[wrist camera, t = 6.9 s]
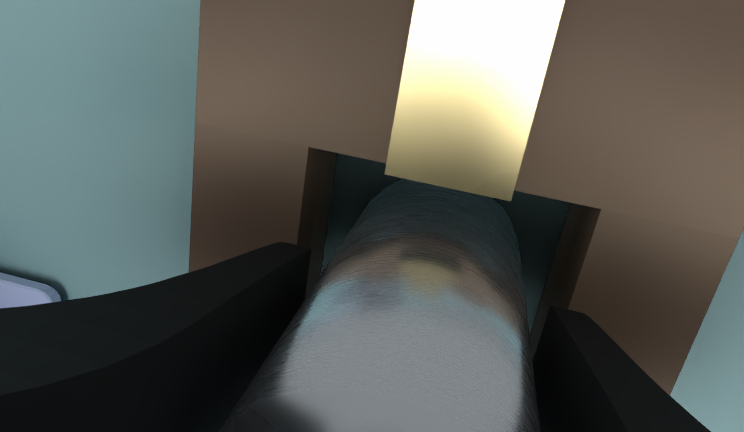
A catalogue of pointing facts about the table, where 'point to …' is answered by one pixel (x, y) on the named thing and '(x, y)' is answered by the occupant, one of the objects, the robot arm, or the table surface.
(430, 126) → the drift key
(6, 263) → the table surface
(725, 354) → the table surface
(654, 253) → the socket block
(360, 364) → the steel peg
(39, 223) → the table surface
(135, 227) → the table surface
